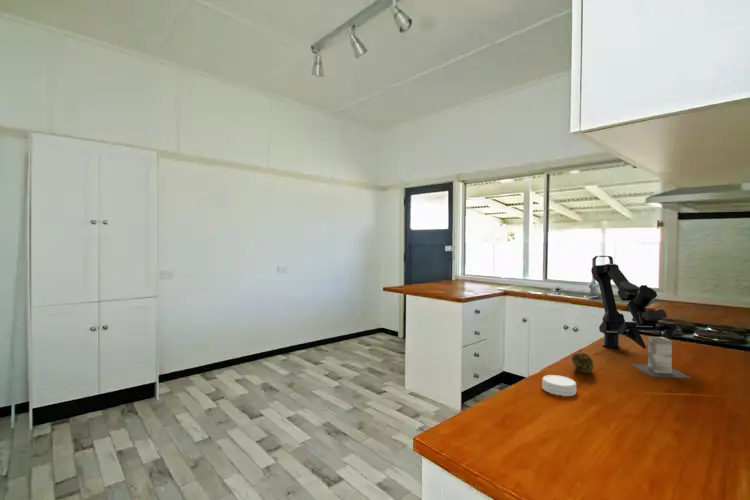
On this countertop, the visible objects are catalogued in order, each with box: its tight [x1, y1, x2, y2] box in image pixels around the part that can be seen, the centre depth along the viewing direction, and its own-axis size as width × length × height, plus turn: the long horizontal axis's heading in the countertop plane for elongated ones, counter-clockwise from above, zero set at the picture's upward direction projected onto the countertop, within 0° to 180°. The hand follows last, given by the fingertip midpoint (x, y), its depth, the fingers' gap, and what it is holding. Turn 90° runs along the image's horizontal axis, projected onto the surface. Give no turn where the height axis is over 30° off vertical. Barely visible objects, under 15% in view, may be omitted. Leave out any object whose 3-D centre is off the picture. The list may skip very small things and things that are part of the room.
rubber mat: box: [630, 363, 692, 379], centre depth 133 cm, size 13×13×1 cm
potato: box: [570, 351, 595, 374], centre depth 134 cm, size 8×13×8 cm, turn 133°
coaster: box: [541, 374, 577, 397], centre depth 118 cm, size 10×10×4 cm
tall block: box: [647, 336, 673, 373], centre depth 133 cm, size 5×5×12 cm
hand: (658, 348), depth 134 cm, fingers open, 9 cm apart
